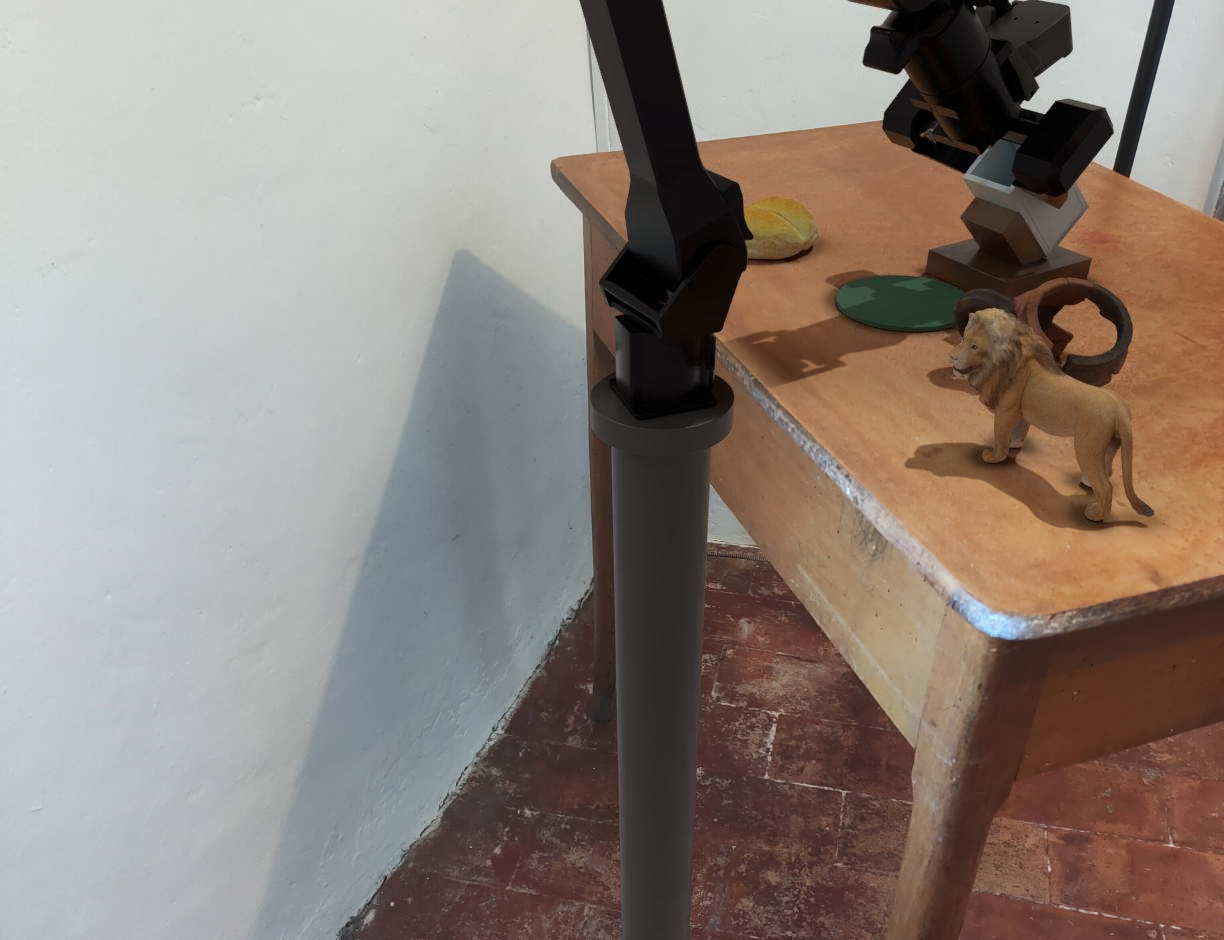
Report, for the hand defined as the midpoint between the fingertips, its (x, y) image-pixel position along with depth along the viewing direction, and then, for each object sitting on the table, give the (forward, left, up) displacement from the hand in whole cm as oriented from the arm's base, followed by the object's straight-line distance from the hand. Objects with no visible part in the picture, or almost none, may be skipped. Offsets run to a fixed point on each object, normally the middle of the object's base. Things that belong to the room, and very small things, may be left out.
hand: (1026, 191), depth 88 cm
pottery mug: (-11, -17, -7) cm, 22 cm away
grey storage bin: (0, 0, -5) cm, 5 cm away
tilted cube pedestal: (0, 0, -7) cm, 7 cm away
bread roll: (-16, +15, -7) cm, 23 cm away
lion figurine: (-19, -28, -7) cm, 35 cm away
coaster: (-12, -2, -7) cm, 14 cm away
